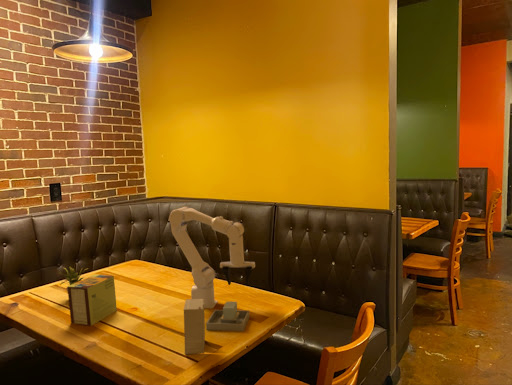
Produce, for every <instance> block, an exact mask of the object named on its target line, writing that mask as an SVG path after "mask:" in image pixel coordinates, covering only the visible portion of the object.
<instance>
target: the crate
mask: <svg viewBox="0 0 512 385" xmlns="http://www.w3.org/2000/svg"><path fill="white" fill-rule="evenodd" d="M237 312H240V322H239V324H230V323H221V317H222V315H223V309H214V310H213V312H212V313H211V314H210V317H209V318H208V320H207V321H206V322H205V329H206V330H205V331H223V332H224V331H225V332H229V331H230V332H244V331H245V329H246V326H247V324H248V321H249V319H250V318H251V317H250V310H243V309H242V310H238V309H237Z"/></svg>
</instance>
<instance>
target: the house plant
mask: <svg viewBox="0 0 512 385" xmlns="http://www.w3.org/2000/svg"><path fill="white" fill-rule="evenodd" d="M62 269H64V270H65V272H66V273H67V274H65V273H63V272H60V271H59V274H61V275H62V276H64V275H65V280H66V281H67V283H66V281H61V282H60V284H59V285H60V286H61V285H62V284H64V283H65V284H67V285H68V286H70V285H72V284H74V283H76V282H79V281H81V280H83V279H84V277H81V276H82V273H84V272H85V271H86V270H88V269H89V268H85V269H84V270H83V268H81V269H80V272H79V273H78V272H76V271H75V268H72V266H69V270H68V269H67V268H65V267H62ZM82 270H83V271H82ZM80 277H81V278H80ZM66 292H67V293H68V288H67V287H66Z"/></svg>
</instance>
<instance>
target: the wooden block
mask: <svg viewBox="0 0 512 385" xmlns="http://www.w3.org/2000/svg"><path fill="white" fill-rule="evenodd" d="M239 322H240V312H237V313H236V315H235V317H234V319H227V318H223V315H222V317H221V323H230V324H239Z"/></svg>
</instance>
